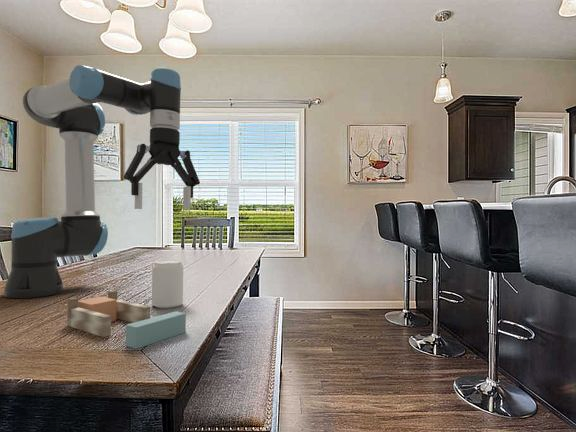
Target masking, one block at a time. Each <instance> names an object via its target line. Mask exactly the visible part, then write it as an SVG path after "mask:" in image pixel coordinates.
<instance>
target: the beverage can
mask: <svg viewBox="0 0 576 432" xmlns="http://www.w3.org/2000/svg"><path fill="white" fill-rule="evenodd" d="M182 304H184V264H183V263H182V260H176V259H173V260H171V259H166V260H164V259H163V260H157V261H154V262H153V265H152V269H151V305H152V306H153V307H155V308H156V309H171V308H177V307H179V306H180V305H182Z"/></svg>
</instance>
